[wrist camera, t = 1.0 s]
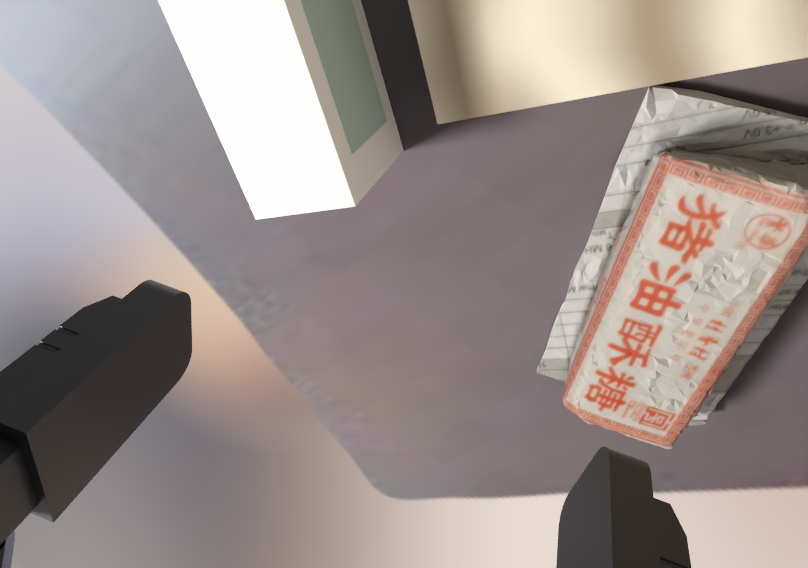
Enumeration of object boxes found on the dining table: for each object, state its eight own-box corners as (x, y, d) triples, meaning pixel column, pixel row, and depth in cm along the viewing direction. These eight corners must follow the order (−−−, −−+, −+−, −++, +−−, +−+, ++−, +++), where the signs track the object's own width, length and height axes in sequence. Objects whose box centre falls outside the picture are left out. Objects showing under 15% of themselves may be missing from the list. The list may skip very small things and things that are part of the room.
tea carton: (316, -169, 23) (222, -187, 18) (406, 149, 30) (357, 206, 25) (213, -121, 26) (102, -124, 20) (318, 164, 32) (255, 219, 27)
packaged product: (707, 476, 30) (527, 416, 32) (699, 412, 34) (537, 360, 36) (945, 176, 19) (650, 109, 21) (894, 129, 23) (647, 76, 25)
